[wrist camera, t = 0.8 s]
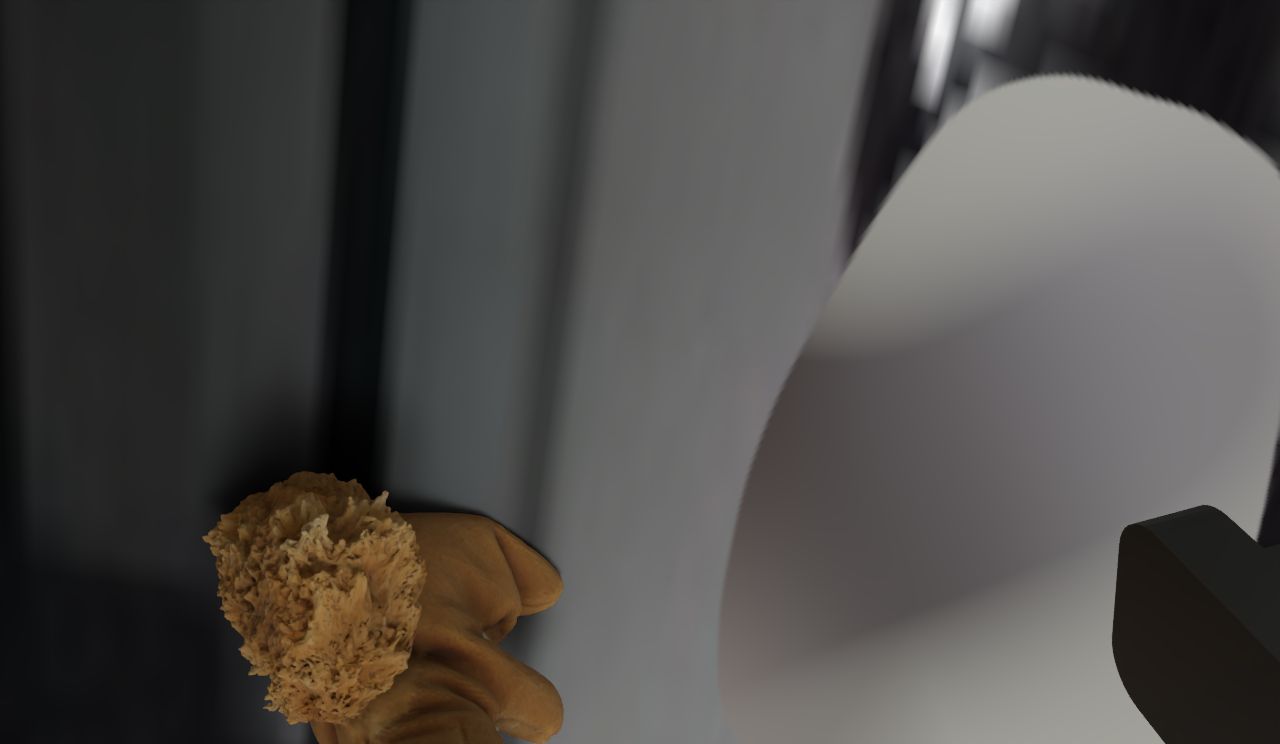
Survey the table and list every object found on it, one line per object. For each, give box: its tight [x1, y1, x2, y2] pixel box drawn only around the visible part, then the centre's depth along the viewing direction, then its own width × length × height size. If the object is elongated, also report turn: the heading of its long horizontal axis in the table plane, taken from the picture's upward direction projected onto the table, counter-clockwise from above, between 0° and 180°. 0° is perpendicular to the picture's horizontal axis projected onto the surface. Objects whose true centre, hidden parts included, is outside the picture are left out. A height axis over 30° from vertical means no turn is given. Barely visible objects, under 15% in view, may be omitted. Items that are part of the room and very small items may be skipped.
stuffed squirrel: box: [203, 471, 564, 744], centre depth 34 cm, size 10×14×13 cm
